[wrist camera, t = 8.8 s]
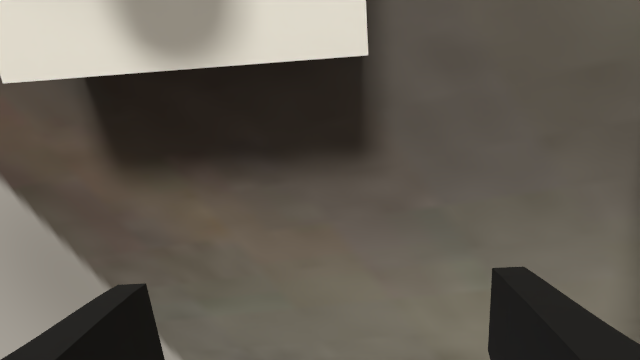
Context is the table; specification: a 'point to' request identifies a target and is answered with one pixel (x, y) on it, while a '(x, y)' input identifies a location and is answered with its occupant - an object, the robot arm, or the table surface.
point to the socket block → (171, 35)
